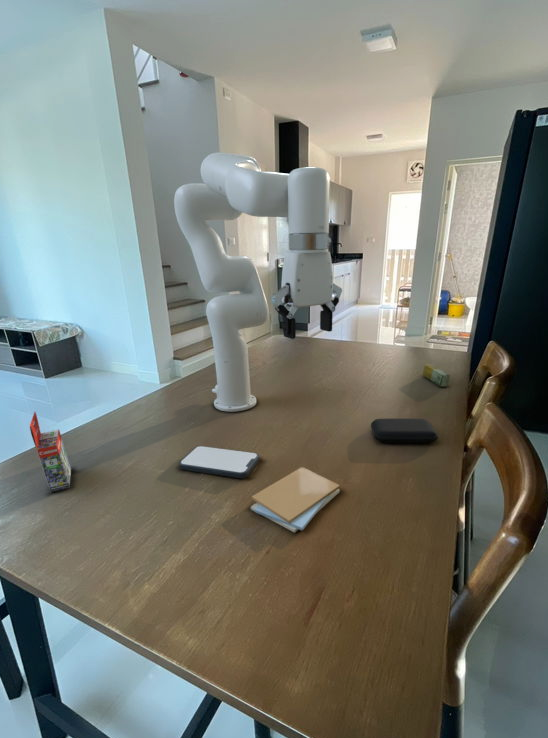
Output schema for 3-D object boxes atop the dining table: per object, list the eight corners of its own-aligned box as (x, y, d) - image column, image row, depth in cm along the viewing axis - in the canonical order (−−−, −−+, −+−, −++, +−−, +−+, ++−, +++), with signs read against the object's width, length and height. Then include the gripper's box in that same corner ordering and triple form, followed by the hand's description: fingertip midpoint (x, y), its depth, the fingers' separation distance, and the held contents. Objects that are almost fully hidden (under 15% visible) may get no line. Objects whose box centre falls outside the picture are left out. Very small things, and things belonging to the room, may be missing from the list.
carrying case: (427, 425, 98) (368, 425, 99) (428, 414, 97) (369, 414, 98) (439, 445, 88) (375, 445, 89) (441, 433, 87) (375, 433, 88)
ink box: (71, 469, 83) (54, 407, 77) (70, 488, 76) (51, 422, 71) (52, 473, 82) (33, 411, 76) (49, 493, 75) (28, 426, 69)
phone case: (177, 470, 82) (245, 481, 77) (175, 464, 81) (244, 474, 76) (198, 450, 89) (261, 459, 84) (197, 444, 89) (261, 452, 84)
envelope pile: (245, 509, 69) (244, 501, 68) (296, 471, 79) (296, 464, 79) (297, 538, 62) (297, 529, 61) (346, 492, 72) (346, 484, 72)
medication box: (447, 387, 123) (450, 375, 121) (440, 387, 122) (443, 375, 121) (428, 374, 134) (431, 363, 132) (421, 374, 133) (424, 363, 132)
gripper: (329, 243, 80) (327, 325, 86) (259, 245, 70) (263, 337, 77) (355, 243, 74) (351, 330, 81) (283, 245, 65) (285, 344, 71)
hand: (308, 333), depth 79 cm, fingers open, 9 cm apart
